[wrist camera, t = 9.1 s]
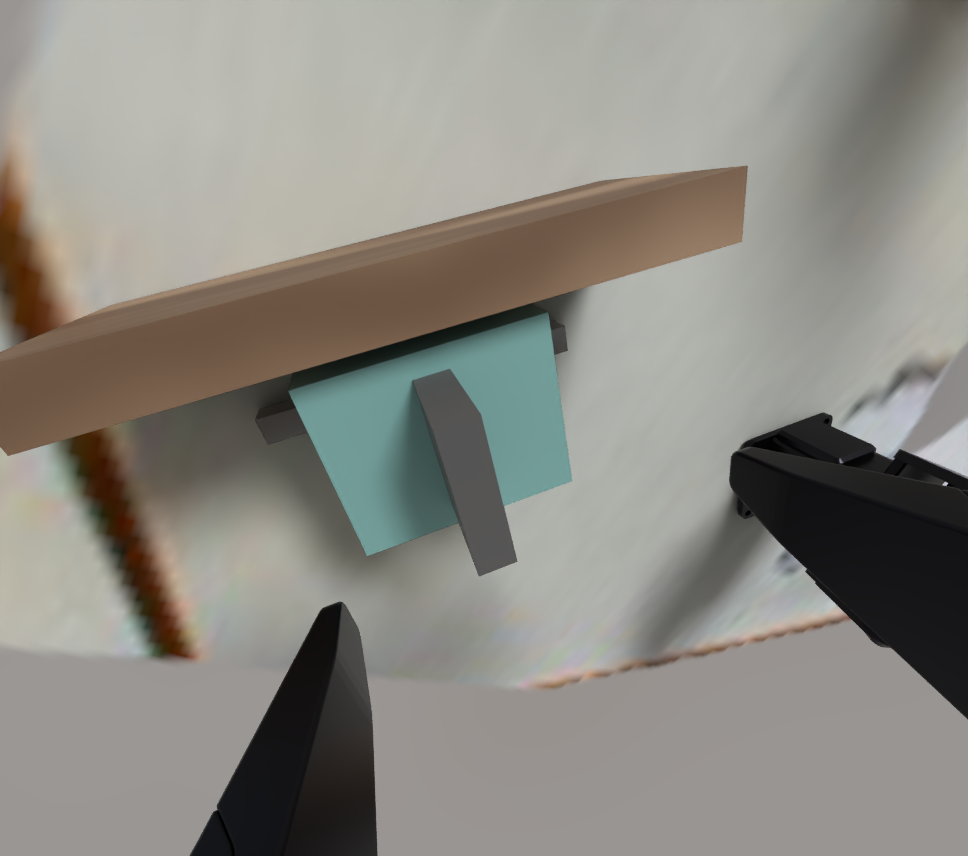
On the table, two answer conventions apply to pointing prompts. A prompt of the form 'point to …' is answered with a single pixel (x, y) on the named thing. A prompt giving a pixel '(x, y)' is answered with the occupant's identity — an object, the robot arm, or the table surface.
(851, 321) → the table surface
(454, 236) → the brown wooden beam
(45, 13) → the table surface
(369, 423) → the teal handled box
